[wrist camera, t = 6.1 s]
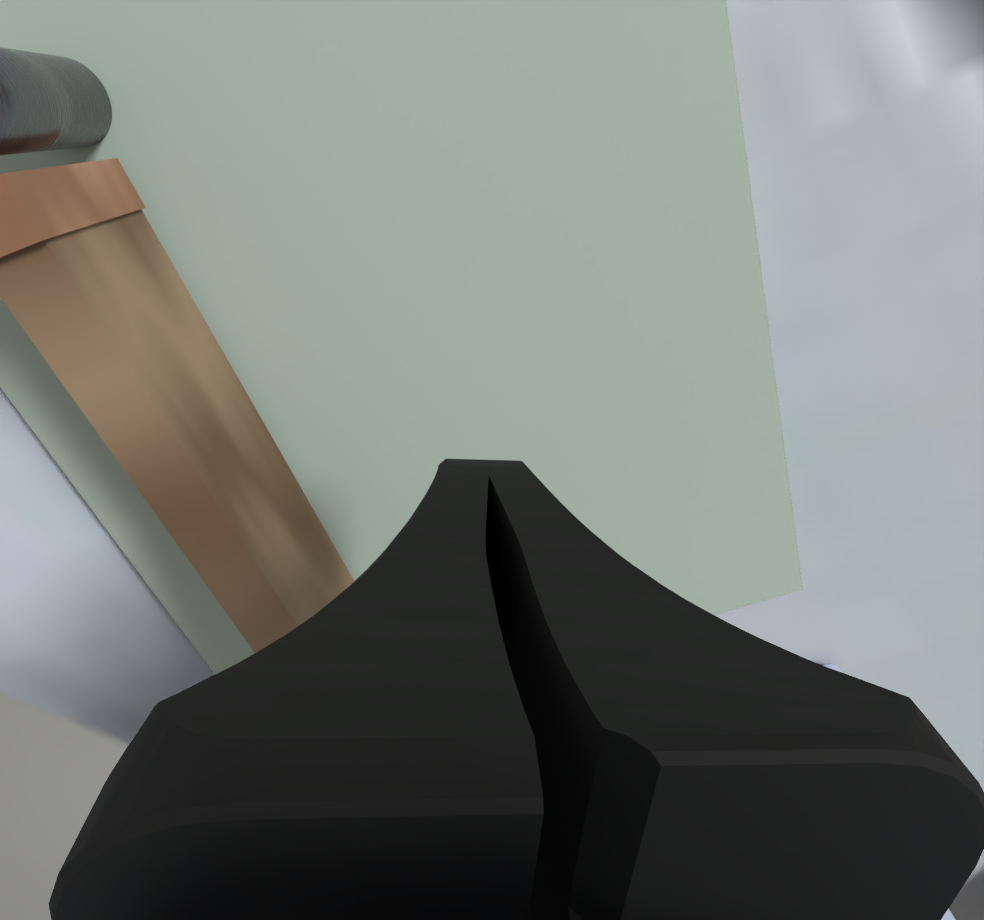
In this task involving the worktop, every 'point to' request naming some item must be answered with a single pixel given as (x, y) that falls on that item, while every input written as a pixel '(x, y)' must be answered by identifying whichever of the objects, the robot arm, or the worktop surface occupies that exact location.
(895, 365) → the worktop surface
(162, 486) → the wooden block
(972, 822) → the robot arm
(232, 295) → the gate mat
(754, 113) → the worktop surface
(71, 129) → the dark gray metal cylinder
